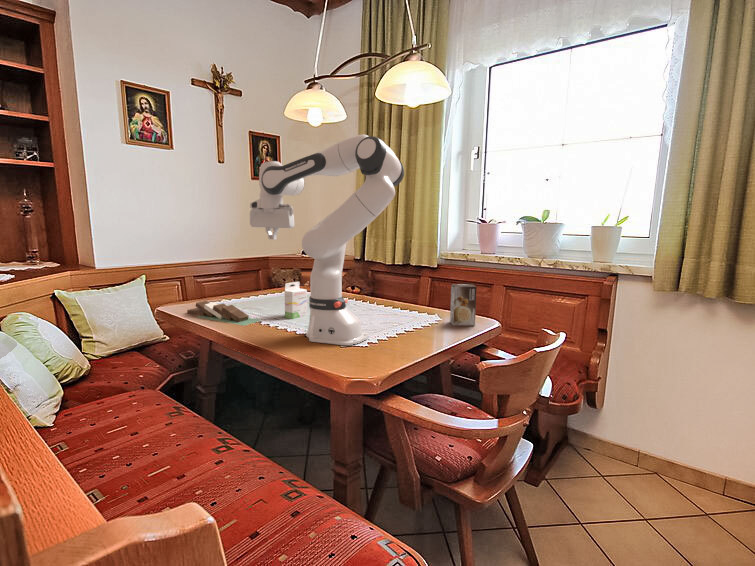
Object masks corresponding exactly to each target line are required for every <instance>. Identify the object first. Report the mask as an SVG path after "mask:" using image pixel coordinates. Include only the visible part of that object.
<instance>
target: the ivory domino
mask: <svg viewBox="0 0 755 566" xmlns="http://www.w3.org/2000/svg"><path fill="white" fill-rule="evenodd" d="M218 304H219V303H217V302H209V304H205V306H204V308H205V309H206V310H208V311H209V312H211V313H212V314H213V315H215V316H216V317H218V318H219V319H223V318H225V317H223V316H222V315H220V314H219V313H217V312H216V311H214V310H213V306H214V305H218Z"/></svg>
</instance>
